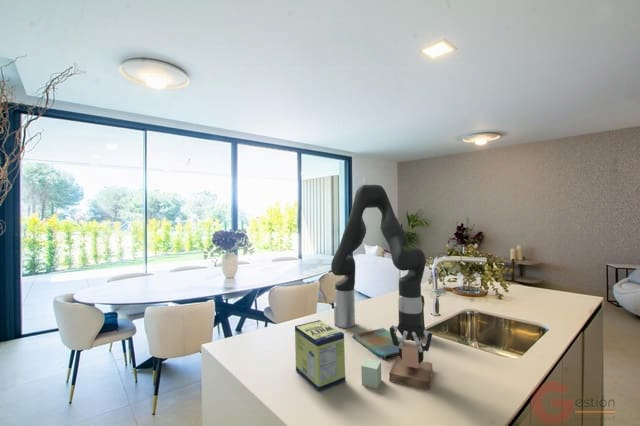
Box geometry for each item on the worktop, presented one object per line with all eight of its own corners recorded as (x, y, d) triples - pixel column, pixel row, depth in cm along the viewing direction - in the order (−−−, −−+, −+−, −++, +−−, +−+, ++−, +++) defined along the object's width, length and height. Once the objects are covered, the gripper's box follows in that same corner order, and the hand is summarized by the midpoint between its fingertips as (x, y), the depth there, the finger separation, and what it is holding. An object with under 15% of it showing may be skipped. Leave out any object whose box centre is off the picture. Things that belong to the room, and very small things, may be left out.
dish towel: (384, 362, 108) (383, 355, 108) (351, 338, 129) (350, 332, 129) (420, 352, 115) (420, 346, 115) (383, 331, 136) (383, 325, 136)
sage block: (361, 384, 93) (361, 365, 93) (366, 376, 98) (365, 358, 98) (377, 388, 91) (377, 369, 91) (381, 380, 96) (380, 361, 96)
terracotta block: (402, 365, 97) (401, 346, 97) (404, 358, 101) (404, 340, 101) (418, 368, 94) (417, 349, 94) (420, 361, 99) (419, 343, 99)
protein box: (320, 361, 108) (319, 319, 108) (346, 381, 95) (345, 333, 95) (294, 370, 103) (293, 325, 103) (318, 392, 90) (317, 341, 90)
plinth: (389, 380, 95) (389, 373, 95) (396, 363, 106) (396, 356, 106) (429, 389, 90) (428, 381, 90) (432, 370, 101) (432, 363, 101)
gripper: (385, 309, 98) (387, 361, 98) (432, 315, 91) (433, 370, 91) (390, 303, 104) (391, 351, 104) (434, 308, 98) (435, 359, 98)
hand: (411, 360), depth 98 cm, fingers closed on terracotta block, 5 cm apart
